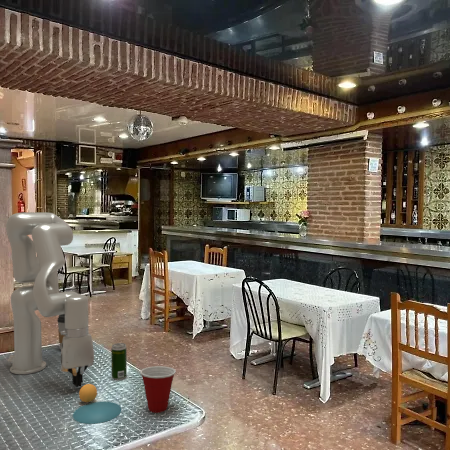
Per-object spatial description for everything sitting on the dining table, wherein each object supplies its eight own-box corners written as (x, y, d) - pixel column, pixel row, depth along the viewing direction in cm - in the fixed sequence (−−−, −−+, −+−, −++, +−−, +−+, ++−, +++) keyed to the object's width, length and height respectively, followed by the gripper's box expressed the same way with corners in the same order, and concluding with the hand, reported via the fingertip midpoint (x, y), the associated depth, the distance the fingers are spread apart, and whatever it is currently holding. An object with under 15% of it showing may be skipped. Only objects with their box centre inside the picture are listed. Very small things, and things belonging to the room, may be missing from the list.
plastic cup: (181, 403, 136) (181, 366, 136) (166, 419, 126) (166, 378, 125) (151, 398, 140) (151, 361, 139) (133, 413, 129) (133, 374, 129)
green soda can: (129, 378, 156) (129, 345, 156) (115, 381, 153) (115, 348, 153) (122, 373, 161) (122, 341, 160) (109, 377, 157) (108, 344, 157)
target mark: (62, 420, 125) (62, 419, 125) (90, 399, 139) (90, 399, 139) (105, 426, 121) (105, 426, 121) (129, 405, 135) (129, 404, 135)
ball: (78, 402, 133) (73, 392, 137) (91, 408, 136) (86, 399, 140) (90, 386, 134) (84, 378, 138) (103, 393, 137) (97, 384, 142)
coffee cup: (60, 346, 192) (60, 313, 192) (80, 345, 193) (79, 312, 193) (55, 352, 184) (54, 317, 184) (75, 352, 185) (74, 317, 184)
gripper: (56, 338, 138) (57, 394, 139) (102, 330, 147) (102, 384, 148) (50, 333, 144) (51, 387, 145) (95, 326, 153) (95, 377, 154)
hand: (77, 385), depth 146 cm, fingers closed
